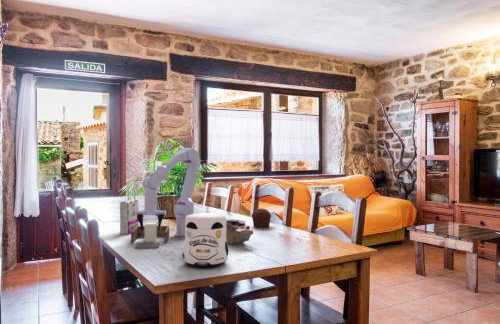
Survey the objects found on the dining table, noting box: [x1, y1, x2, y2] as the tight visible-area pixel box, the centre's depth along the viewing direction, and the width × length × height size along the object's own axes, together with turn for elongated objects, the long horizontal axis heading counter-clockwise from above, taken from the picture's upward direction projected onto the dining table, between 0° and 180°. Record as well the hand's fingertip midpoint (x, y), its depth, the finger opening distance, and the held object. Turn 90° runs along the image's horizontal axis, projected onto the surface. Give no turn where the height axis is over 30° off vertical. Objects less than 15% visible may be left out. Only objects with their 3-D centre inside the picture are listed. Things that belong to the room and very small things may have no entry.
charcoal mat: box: [134, 241, 161, 250], centre depth 177 cm, size 10×9×1 cm
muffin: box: [251, 208, 272, 229], centre depth 225 cm, size 12×11×10 cm
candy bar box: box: [119, 199, 140, 235], centre depth 206 cm, size 11×5×16 cm, turn 168°
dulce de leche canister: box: [182, 212, 229, 268], centre depth 151 cm, size 17×17×18 cm
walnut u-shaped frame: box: [130, 225, 170, 245], centre depth 190 cm, size 16×16×5 cm
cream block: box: [144, 222, 158, 243], centre depth 188 cm, size 5×5×8 cm
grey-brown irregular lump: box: [226, 219, 254, 244], centre depth 186 cm, size 13×20×10 cm, turn 25°
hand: (150, 230), depth 188 cm, fingers open, 7 cm apart
